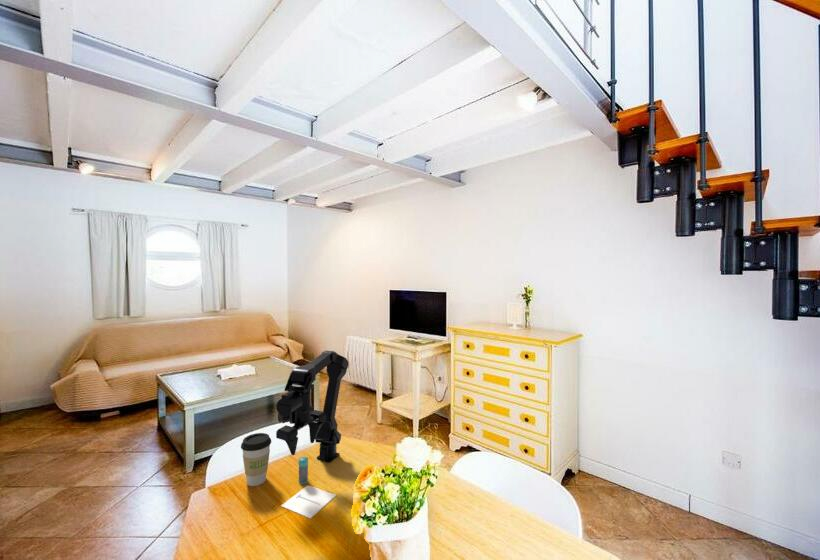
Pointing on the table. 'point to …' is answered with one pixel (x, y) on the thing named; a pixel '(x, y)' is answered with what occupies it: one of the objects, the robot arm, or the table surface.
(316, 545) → the table surface
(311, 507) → the paper
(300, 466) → the marker
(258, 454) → the coffee cup
